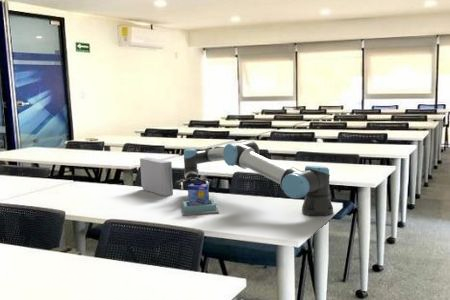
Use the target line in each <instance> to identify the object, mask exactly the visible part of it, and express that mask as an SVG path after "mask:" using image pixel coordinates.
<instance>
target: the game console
mask: <svg viewBox="0 0 450 300" xmlns="http://www.w3.org/2000/svg"><path fill="white" fill-rule="evenodd" d="M139 163H140V164H139V165H140V180H141V182H140V183H141V188H142V189H144V190H143V191H146V190H147V192H149V191H150V193H153V192H154V193H153V194H156V193H157V195H161V196H165V197H167V195H168V196H172V194H173V195H174V191H173V190H174V189H173V188H174V186H173V168H172V166H173V165H172V161H169V160H164V159H160V158H159V159H158V158H152V157H147V156H146V157H141V158H139Z"/></svg>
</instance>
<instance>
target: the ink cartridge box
mask: <svg viewBox="0 0 450 300" xmlns="http://www.w3.org/2000/svg"><path fill="white" fill-rule="evenodd" d="M195 182H199V183H195ZM209 193H210V192H209V188H208V184H201V182H200V181H194V184H190V185H187V195H188V201H189V206H196V205H209V200H210V195H209Z"/></svg>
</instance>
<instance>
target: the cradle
mask: <svg viewBox="0 0 450 300" xmlns="http://www.w3.org/2000/svg"><path fill="white" fill-rule="evenodd" d="M182 202H183V203H182V204H180V207H181V212H182V216H183V217H186V216H187V217H188V216H200V215H201V216H202V215H215V214H220V210H219V209H218V206H217V204H216V202H215V200H214V199H209V205H196V206H189V200H187V201H184V200H183V201H182Z"/></svg>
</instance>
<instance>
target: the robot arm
mask: <svg viewBox="0 0 450 300" xmlns="http://www.w3.org/2000/svg"><path fill="white" fill-rule="evenodd" d="M183 161H184V162H183V163H184V165H183V166H184V167H183V168H184V174H183V177H184V178H185V179H184V178H181V179H179V180H176V181H175V182H174V185H175V187H176V188H177V187H178V189H181V190H182V191H183V190H184V186H188V185H190V184H194V181H200V182H201V184H208V189H209V187H210V186H213V182H214V181H213V179H209V178H206V177H202V178H200V176H199V174H198V164H203V163H204V164H205V163H212V162H220V161H222V162H223V161H224V162H225V164H226V165H228V166H231V167H234V166H237V167H240V168H241V169H244V170H245V169H249V170H251V171H253V172H255V173H257V174H259V175H261V176H263V177H265V178H267V179H269V180H271V181H273V182H274V183H277V184H279V186H280V188H281V190H282V191H283V193H284V194H285V195H286V196H287V197H288V198H292V199H301V198H303V197H304V200H303V204H302V206H301V213H302V214H304V215H308V216H316V217H323V216H329V215H332V214H333V213H334V207H333V205H332V200H331V198H330V169H329V168H328V167H327V166H323V165H321V166H319V165H305V167H304V170H300V169H298V168H295V167H293V166H289V167H285V166H284V165H281V164H280V163H278V162H275V161H274V160H271V159H269V158H267V157H265V156H263V155H260V147H259V145H258V144H257V143H256V142H255V141H253V140H243V141H236V142H230V143H227V144H226V145H225V146H224V147H223V146H222V147H217V148H209V149H203V150H197V149H196V148H185V149H184V150H183ZM195 183H199V182H195Z"/></svg>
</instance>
